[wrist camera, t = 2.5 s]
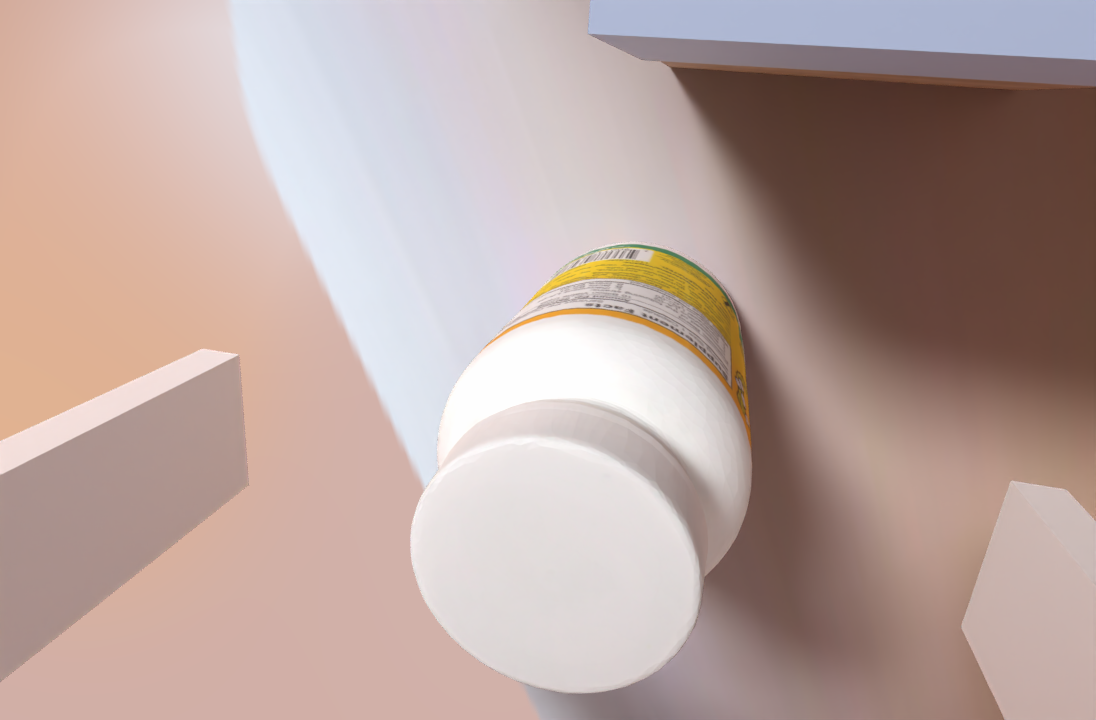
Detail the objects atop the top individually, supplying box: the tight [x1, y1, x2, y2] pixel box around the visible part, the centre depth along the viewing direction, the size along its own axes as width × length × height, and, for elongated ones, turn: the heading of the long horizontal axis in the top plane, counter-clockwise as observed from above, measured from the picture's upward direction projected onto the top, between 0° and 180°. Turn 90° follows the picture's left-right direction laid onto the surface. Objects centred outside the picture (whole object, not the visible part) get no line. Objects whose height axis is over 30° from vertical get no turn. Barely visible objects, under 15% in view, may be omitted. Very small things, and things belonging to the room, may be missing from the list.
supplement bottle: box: [410, 242, 752, 694], centre depth 14 cm, size 5×5×10 cm
